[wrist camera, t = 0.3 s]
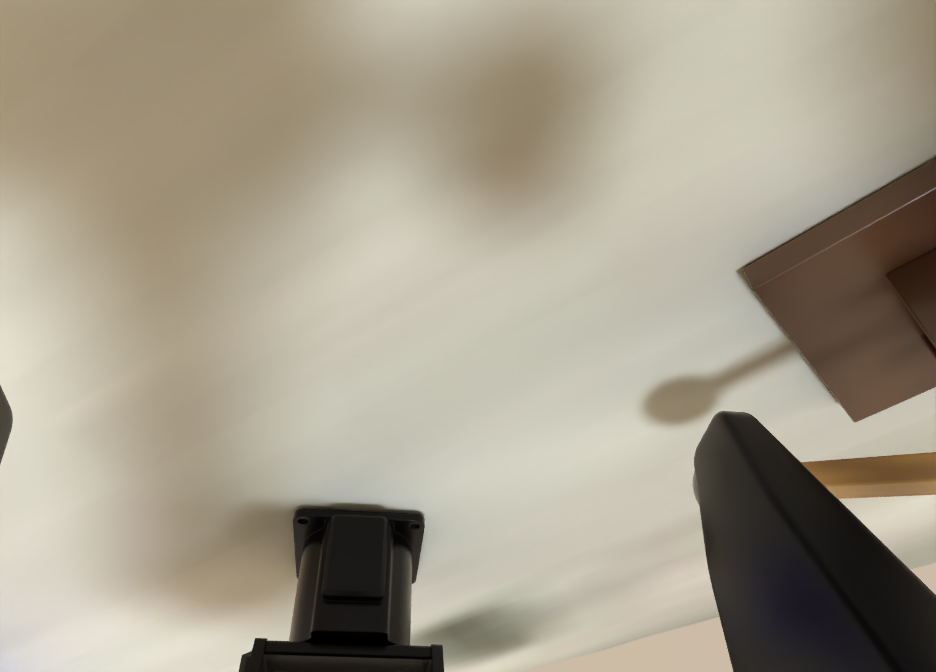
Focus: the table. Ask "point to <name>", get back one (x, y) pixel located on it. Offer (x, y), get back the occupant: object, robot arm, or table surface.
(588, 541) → the table surface
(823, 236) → the brown wooden frame
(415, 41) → the table surface
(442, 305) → the table surface
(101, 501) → the table surface
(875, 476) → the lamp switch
